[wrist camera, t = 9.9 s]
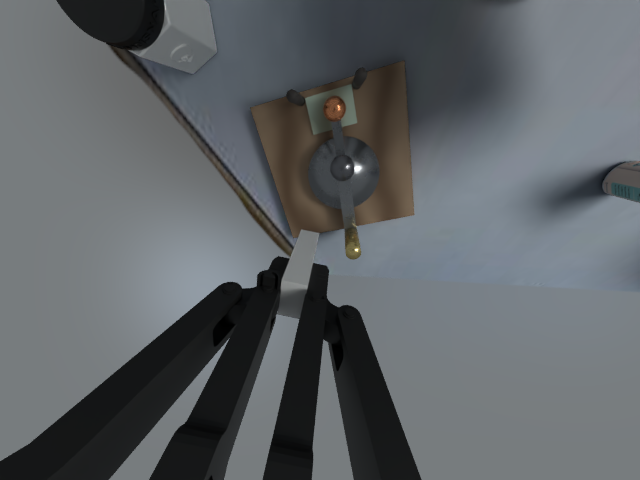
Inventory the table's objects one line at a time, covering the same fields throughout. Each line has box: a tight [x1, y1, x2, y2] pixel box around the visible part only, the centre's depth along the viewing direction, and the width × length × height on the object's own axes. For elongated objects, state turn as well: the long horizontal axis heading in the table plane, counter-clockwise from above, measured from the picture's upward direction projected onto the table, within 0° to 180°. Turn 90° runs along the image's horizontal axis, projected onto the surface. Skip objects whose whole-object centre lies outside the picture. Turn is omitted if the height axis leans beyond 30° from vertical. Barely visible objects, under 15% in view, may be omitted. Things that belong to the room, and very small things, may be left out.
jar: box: [57, 0, 217, 74], centre depth 23 cm, size 9×8×12 cm
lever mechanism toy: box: [250, 61, 414, 238], centre depth 31 cm, size 20×20×8 cm
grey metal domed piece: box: [308, 96, 380, 259], centre depth 30 cm, size 19×10×8 cm, turn 10°
